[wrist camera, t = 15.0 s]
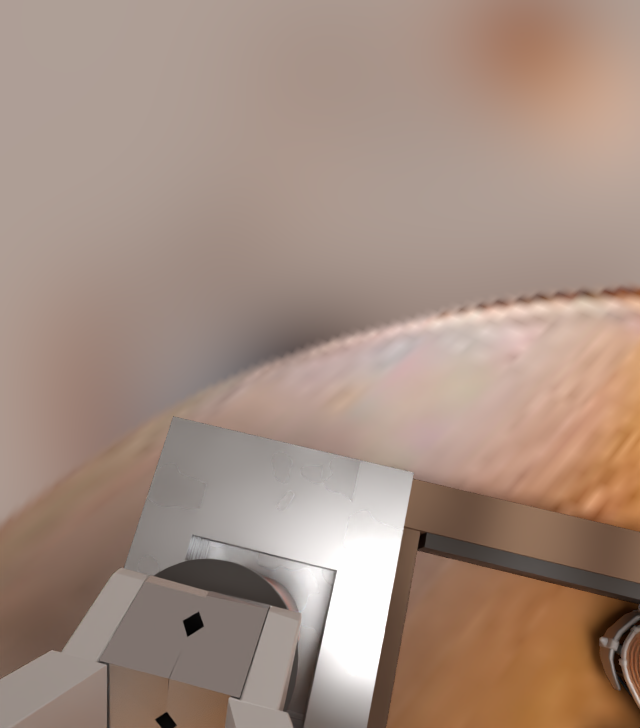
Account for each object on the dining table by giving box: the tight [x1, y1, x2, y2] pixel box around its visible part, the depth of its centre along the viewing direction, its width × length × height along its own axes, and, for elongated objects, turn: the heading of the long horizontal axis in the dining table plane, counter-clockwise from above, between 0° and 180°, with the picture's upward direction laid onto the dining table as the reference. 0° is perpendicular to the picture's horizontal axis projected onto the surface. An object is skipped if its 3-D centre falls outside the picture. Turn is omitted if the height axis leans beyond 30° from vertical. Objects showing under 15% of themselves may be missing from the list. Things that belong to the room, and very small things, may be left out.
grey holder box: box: [124, 416, 414, 728], centre depth 21 cm, size 7×10×12 cm
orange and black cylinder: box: [154, 559, 301, 712], centre depth 14 cm, size 3×3×8 cm
